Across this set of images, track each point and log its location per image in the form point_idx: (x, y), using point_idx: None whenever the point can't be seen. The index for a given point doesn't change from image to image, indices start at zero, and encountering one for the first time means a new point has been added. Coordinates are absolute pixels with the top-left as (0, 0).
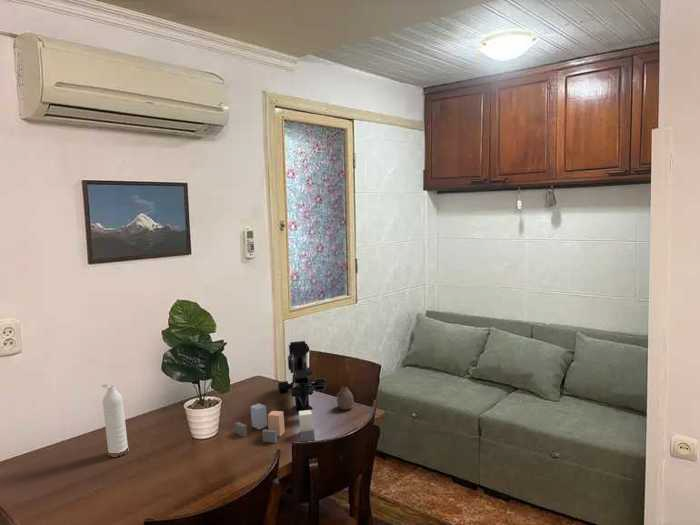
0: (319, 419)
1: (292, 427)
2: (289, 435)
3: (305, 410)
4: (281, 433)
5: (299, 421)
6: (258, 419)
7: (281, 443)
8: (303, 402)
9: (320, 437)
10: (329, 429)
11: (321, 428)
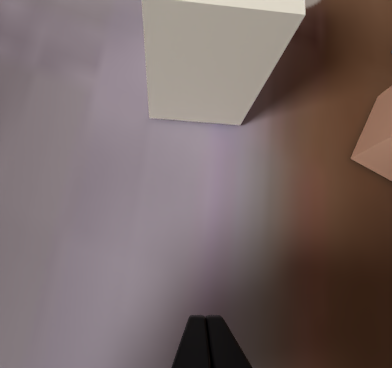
0: (46, 327)
1: (292, 231)
2: (315, 104)
3: (216, 3)
4: (378, 108)
5: (263, 81)
6: None
7: (363, 15)
8: (213, 351)
9: (110, 4)
10: (14, 100)
11: (71, 137)
